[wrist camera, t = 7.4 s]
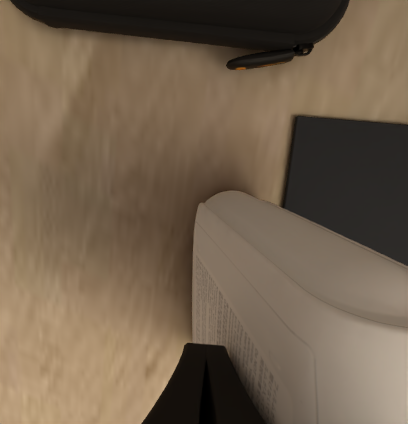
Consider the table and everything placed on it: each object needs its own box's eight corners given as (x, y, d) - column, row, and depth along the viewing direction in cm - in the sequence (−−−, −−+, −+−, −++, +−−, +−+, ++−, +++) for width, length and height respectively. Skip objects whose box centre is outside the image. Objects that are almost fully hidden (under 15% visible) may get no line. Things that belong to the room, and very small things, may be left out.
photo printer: (257, 357, 19) (473, 702, 7) (187, 369, 18) (313, 794, 6) (268, 188, 17) (608, 307, 5) (188, 190, 16) (389, 347, 4)
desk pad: (531, 136, 16) (539, 135, 16) (433, 451, 21) (438, 457, 20) (295, 116, 16) (297, 115, 15) (250, 438, 20) (250, 444, 20)
